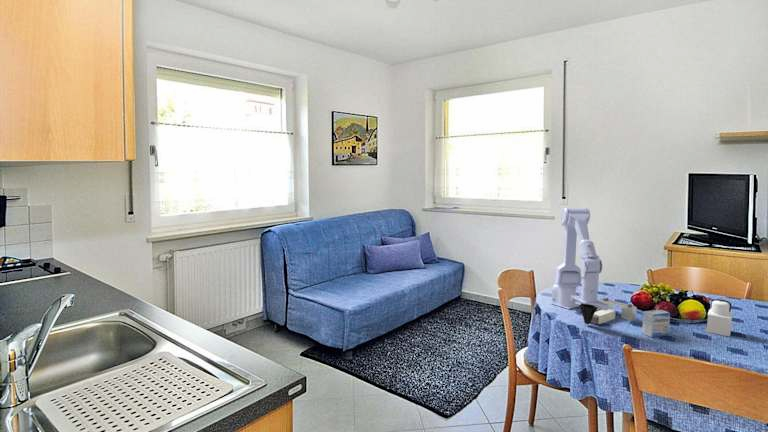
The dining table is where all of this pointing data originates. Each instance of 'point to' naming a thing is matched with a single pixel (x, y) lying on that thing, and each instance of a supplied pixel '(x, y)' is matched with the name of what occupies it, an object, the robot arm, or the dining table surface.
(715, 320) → the medicine bottle
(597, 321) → the cream rectangular bar
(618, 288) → the dining table surface
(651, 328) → the medicine box
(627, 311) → the bearing block
